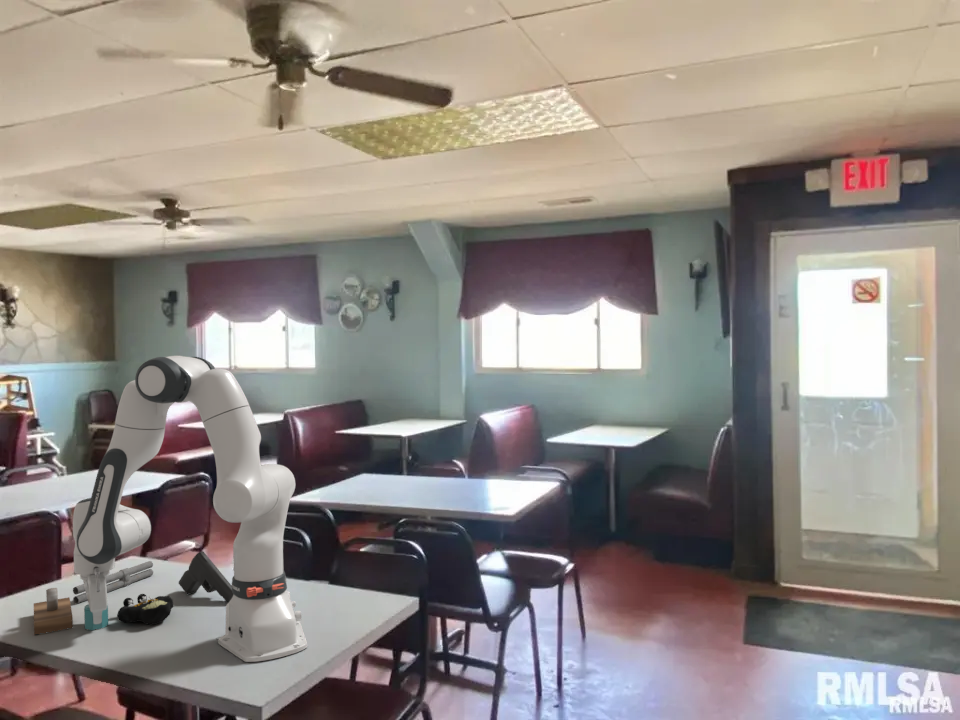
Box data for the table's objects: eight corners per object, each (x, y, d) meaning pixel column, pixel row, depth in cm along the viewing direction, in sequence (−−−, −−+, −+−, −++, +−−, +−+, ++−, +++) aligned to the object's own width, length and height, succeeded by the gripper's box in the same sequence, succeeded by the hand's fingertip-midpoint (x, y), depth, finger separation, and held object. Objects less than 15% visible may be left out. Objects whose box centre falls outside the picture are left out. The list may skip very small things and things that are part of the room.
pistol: (223, 626, 199) (241, 591, 195) (212, 630, 196) (230, 595, 192) (187, 580, 206) (203, 546, 202) (176, 583, 203) (192, 549, 199)
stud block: (72, 627, 178) (71, 595, 178) (34, 635, 174) (33, 601, 174) (69, 608, 192) (68, 578, 192) (33, 615, 188) (32, 584, 188)
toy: (156, 589, 193) (183, 583, 184) (161, 618, 192) (189, 614, 183) (107, 603, 183) (133, 597, 174) (112, 634, 182) (139, 630, 173)
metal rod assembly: (79, 605, 195) (79, 586, 195) (72, 604, 196) (71, 585, 196) (155, 576, 219) (155, 559, 219) (148, 575, 220) (148, 559, 220)
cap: (108, 627, 178) (108, 606, 178) (85, 631, 176) (85, 610, 176) (107, 620, 183) (106, 600, 182) (84, 625, 180) (83, 604, 180)
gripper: (113, 570, 172) (115, 629, 172) (105, 551, 189) (107, 604, 189) (82, 575, 168) (84, 635, 169) (77, 555, 186) (79, 609, 186)
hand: (96, 619), depth 179 cm, fingers closed on cap, 5 cm apart
